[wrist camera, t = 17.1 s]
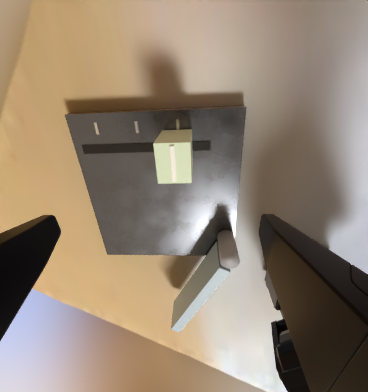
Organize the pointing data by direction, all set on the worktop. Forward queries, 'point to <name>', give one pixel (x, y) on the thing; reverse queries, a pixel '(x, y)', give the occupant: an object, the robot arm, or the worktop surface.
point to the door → (205, 279)
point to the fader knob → (174, 156)
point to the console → (148, 184)
